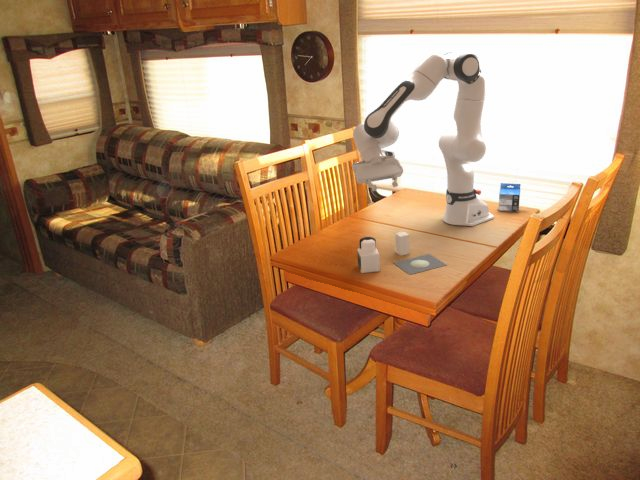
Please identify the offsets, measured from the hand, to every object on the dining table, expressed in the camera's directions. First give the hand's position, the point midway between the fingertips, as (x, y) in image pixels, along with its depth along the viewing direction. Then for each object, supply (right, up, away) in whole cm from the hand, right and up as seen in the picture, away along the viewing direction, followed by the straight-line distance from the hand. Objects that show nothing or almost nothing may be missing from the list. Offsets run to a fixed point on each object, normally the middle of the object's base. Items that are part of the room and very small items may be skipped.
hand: (385, 188), depth 210 cm
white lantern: (-8, -32, -13) cm, 35 cm away
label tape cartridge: (+61, -7, +34) cm, 70 cm away
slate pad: (+11, -30, -13) cm, 34 cm away
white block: (+7, -26, -2) cm, 27 cm away
